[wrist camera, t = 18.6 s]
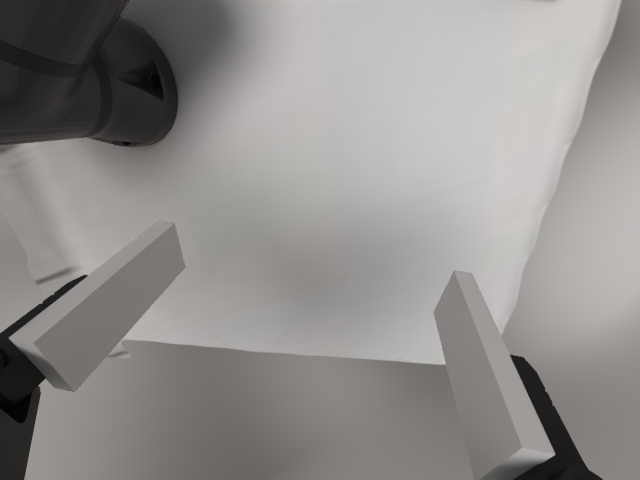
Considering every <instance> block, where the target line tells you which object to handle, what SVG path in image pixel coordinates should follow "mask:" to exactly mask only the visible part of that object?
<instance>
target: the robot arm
mask: <svg viewBox="0 0 640 480" xmlns="http://www.w3.org/2000/svg"><path fill="white" fill-rule="evenodd" d="M128 2H129V0H0V146H2V145H12V144H22V143H33V142H43V141H54V140H64V139H74V138H84V137H86V138H90V139H94V140H98V141H102V142H106V143H110V144H114V145H118V146H124V147H137V146H144V145H149V144H153V143H155V142H157V141H159V140H160V139H162V138H163V137H164V136H165V135H166V134H167V133H168V131H169V130H170V128H171V127H172V125H173V122H174V120H175V116H176V112H177V89H176V84H175V79H174V76H173V73H172V70H171V68H170V65H169V63H168V61H167V59H166V57H165V55H164V54H163V52H162V51H161V49H160V48H159V46H158V45H157V44H156V42H155V41H154V40H153V39H152V38H151V37H150V36H149V35H148V34H147V33H146V32H145V31H144V30H143V29H141V28H140V27H139V26H137V25H136V24H134V23H133V22H131V21H129V20H127V19H124V18H122V17H119V16H120V15H121V13H122V11H123V10H124V8H125V7H126V5H127V3H128ZM184 268H185V263H184V260H183V256H182V252H181V248H180V244H179V240H178V236H177V232H176V228H175V224H174V223H170V222H164V221H158V222H157V223H156V224H154V225H153V226H152V227H151V228H149V229H148V230H147V231H145V232H144V233H143V234H142V235H140V236H139V237H138V238H136V239H135V240H134V241H133V242H131V243H130V244H129V245H127V246H126V247H125V248H124V249H122V250H121V251H120V252H118V253H117V254H116V255H114V256H113V257H112V258H111V259H109V260H108V261H107V262H105V263H104V264H103V265H102V266H100V267H99V268H98V269H96V270H95V271H94V272H93V273H91V274H90V275H89V276H88V275H83V276H81V277H79V278H77V279H75V280H73V281H71V282H69V283H67V284H66V285H64V286H63V287H62V288H60V289H59V290H58V291H56V292H55V293H54V295H51V296H50V297H48V298H47V299H46V300H44V301H43V303H42V304H39V305H38V306H36V307H35V308H34V309H32V310H31V311H30V312H28V313H27V314H26V315H24V316H23V317H22V318H20V319H19V320H18V321H16V322H15V323H14V324H12V325H11V326H10V327H8V328H7V329H6V330H4V331H3V332H1V333H0V480H24V477H25V472H26V467H27V461H28V457H29V451H30V446H31V440H32V436H33V430H34V425H35V420H36V415H37V410H38V405H39V399H40V394H41V392H40V387H39V386H38V385H39V384H40V383H41V382H42V381H43V380H44V379H45V378H46V379H47V380H48V381H49V382H50V384H51V385H52V386H53V387H55V388H59V389H63V390H68V391H72V392H75V391H76V390H77V389H78V388H79V387H80V386H81V384H82V383H83V382H84V381H85V380H86V379H87V378H88V377H89V375H90V374H91V373H92V372H93V371H94V370H95V369H96V368H97V366H98V365H99V364H100V363H101V362H102V361H103V360H104V358H105V357H106V356H107V355H108V354H109V353H110V352H111V351H112V349H113V348H114V347H115V346H116V345H117V344H118V343H119V342H120V340H121V339H122V338H123V337H124V336H125V335H126V334H127V332H128V331H129V330H130V329H131V328H132V327H133V326H134V325H135V323H136V322H137V321H138V320H139V319H140V318H141V317H142V315H143V314H144V313H145V312H146V311H147V310H148V309H149V308H150V306H151V305H152V304H153V303H154V302H155V301H156V300H157V298H158V297H159V296H160V295H161V294H162V293H163V292H164V291H165V289H166V288H167V287H168V286H169V285H170V284H171V283H172V282H173V280H174V279H175V278H176V277H177V276H178V275H179V274H180V272H181V271H182V270H183V269H184ZM434 316H435V320H436V324H437V328H438V332H439V336H440V340H441V345H442V349H443V353H444V357H445V361H446V365H447V369H448V373H449V378H450V381H451V386H452V390H453V394H454V398H455V402H456V406H457V411H458V414H459V419H460V423H461V427H462V431H463V435H464V439H465V444H466V448H467V452H468V456H469V460H470V464H471V468H472V472H473V477H474V480H603V479H601V478H600V477H599V476H597V475H596V474H594V473H593V472H591V471H589V470H588V468H587V467H586V465H585V463H584V462H583V460H582V458H581V456H580V455H579V453H578V451H577V449H576V447H575V445H574V443H573V441H572V439H571V437H570V435H569V433H568V431H567V429H566V428H565V426H564V424H563V422H562V420H561V418H560V416H559V414H558V412H557V410H556V409H555V407H554V406H553V405H552V401H551V399H550V397H549V395H548V393H547V392H545V387H544V386H543V384H542V382H541V380H540V378H539V376H538V374H537V372H536V371H535V370H534V369H533V368H532V367H531V365H530V364H529V363H528V362H527V361H526V360H525V359H524V358H523V357H519V356H514V355H509V353H508V350H507V348H506V346H505V344H504V342H503V340H502V337H501V335H500V333H499V331H498V329H497V327H496V324H495V322H494V320H493V318H492V316H491V314H490V311H489V309H488V307H487V305H486V303H485V301H484V298H483V296H482V294H481V292H480V290H479V288H478V285H477V283H476V281H475V279H474V277H473V275H472V273H466V272H460V271H454V272H453V274H452V276H451V278H450V280H449V282H448V284H447V286H446V288H445V290H444V292H443V294H442V296H441V298H440V300H439V302H438V304H437V306H436V308H435V310H434Z"/></svg>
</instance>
